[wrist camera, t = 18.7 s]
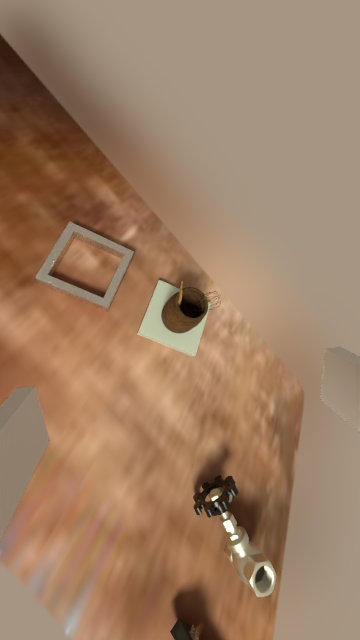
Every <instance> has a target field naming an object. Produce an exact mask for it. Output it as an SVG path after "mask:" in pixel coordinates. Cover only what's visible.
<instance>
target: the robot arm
mask: <svg viewBox="0 0 360 640" xmlns="http://www.w3.org/2000/svg"><path fill="white" fill-rule="evenodd" d="M321 400H322V401H323V402H324V403H326V404H327V405H328V406H329V407H330V408H332V409H333V410H334V411H335V412H336V413H337V414H339V415H340V416H341V417H342V418H344V419H345V420H346V421H347V422H348V423H349V424H351V425H352V426H353V427H354V428H355V429H356V430H358V431H359V432H360V357H359V356H357V355H355V354H353V353H351V352H349V351H347V350H345V349H343V348H341V347H336V348H328V349H325V358H324V368H323V379H322V388H321ZM49 441H50V440H49V436H48V432H47V429H46V425H45V421H44V417H43V413H42V409H41V405H40V401H39V398H38V394H37V390H36V386H32V387H24V388H16V389H15V390H14V391H13V392H12V393H11V395H10V396H9V397H8V398H7V399H6V400H5V401H4V402H3V403H2V404H1V405H0V541H1V539H2V537H3V535H4V533H5V530H6V528H7V526H8V524H9V522H10V520H11V518H12V516H13V514H14V512H15V510H16V508H17V506H18V504H19V502H20V500H21V498H22V496H23V494H24V492H25V490H26V488H27V486H28V484H29V482H30V480H31V477H32V475H33V473H34V471H35V469H36V467H37V465H38V463H39V461H40V459H41V457H42V455H43V453H44V451H45V449H46V447H47V445H48V443H49Z"/></svg>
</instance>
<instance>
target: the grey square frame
mask: <svg viewBox="0 0 360 640" xmlns="http://www.w3.org/2000/svg"><path fill="white" fill-rule="evenodd" d="M74 237H75V238H77V239H79V240H82V241H84V242H86V243H88V244H90V245H93V246H95V247H97V248H99V249H101V250H103V251H106V252H108V253H110V254H112V255H114V256H117V257H119V258H121V259H122V260H121V263H120V265H119V267H118V269H117V271H116V273H115V275H114V277H113V279H112V281H111V283H110V286H109V288H108V290H107V292H106V294H105V296H104V298H102V297H100V296H97V295H95V294H92V293H90V292H88V291H85V290H83V289H81V288H78V287H76V286H73V285H71V284H69V283H66V282H64V281H61V280H59V279H57V278H54V277H52V275H53V273H54V272H55V270H56V268H57V266H58V265H59V263H60V261H61V260H62V258H63V256H64V254H65V253H66V251H67V249H68V248H69V246H70V244H71V243H72V241H73V239H74ZM133 254H134V251H132V250H129V249H127V248H125V247H123V246H121V245H119V244H117V243H115V242H112V241H110V240H108V239H106V238H104V237H102V236H100V235H97V234H95V233H93V232H91V231H89V230H87V229H85V228H82V227H80V226H78V225H76V224H74V223H72V222H69V224H68V225H67V227H66V228H65V230H64V232H63V233H62V235H61V237H60V238H59V240H58V241H57V243H56V245H55V246H54V248H53V250H52V251H51V253H50V254H49V256H48V258H47V259H46V261H45V263H44V264H43V266H42V268H41V269H40V271H39V272H38V274H37V276H36V277H35V279H36V281H37V283H38V284H41V285H43V286H46V287H48V288H51V289H53V290H55V291H58V292H60V293H63V294H65V295H68V296H70V297H73V298H75V299H78V300H80V301H82V302H85V303H87V304H90V305H92V306H95V307H97V308H100V309H102V310H104V311H108V309H109V307H110V305H111V303H112V300H113V298H114V296H115V294H116V292H117V290H118V287H119V285H120V283H121V281H122V279H123V277H124V274H125V272H126V270H127V268H128V266H129V264H130V261H131V259H132V257H133Z"/></svg>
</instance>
